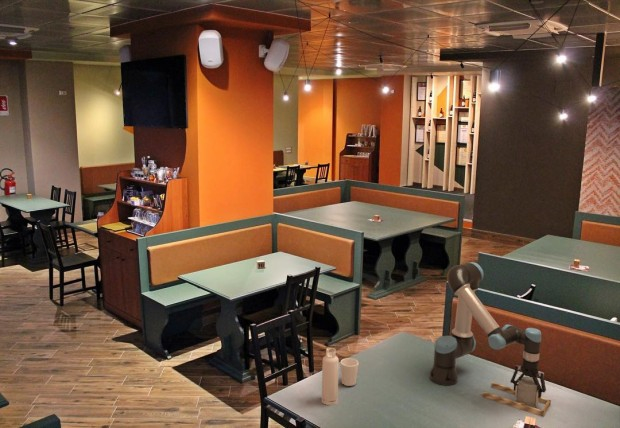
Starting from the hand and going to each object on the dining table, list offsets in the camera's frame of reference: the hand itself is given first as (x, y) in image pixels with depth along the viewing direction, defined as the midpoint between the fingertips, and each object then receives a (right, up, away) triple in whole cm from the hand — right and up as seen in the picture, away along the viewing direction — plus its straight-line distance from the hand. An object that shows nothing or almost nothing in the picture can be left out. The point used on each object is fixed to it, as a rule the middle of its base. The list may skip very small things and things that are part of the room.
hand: (526, 399), depth 276 cm
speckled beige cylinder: (0, -2, 0) cm, 2 cm away
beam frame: (-4, -2, +3) cm, 5 cm away
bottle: (-101, -1, 0) cm, 101 cm away
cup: (-90, +2, +17) cm, 91 cm away
